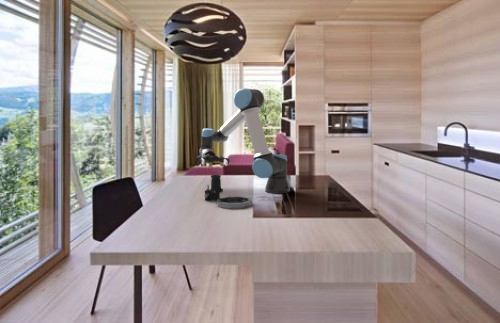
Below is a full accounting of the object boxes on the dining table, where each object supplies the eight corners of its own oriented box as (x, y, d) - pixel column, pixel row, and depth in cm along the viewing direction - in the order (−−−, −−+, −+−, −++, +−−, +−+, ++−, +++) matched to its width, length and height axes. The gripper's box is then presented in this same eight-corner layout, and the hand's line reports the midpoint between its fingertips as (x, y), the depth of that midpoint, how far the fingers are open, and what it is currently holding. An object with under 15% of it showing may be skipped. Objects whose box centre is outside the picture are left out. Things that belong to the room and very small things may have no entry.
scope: (206, 174, 225) (223, 174, 225) (206, 197, 227) (224, 198, 226) (203, 176, 217) (221, 176, 216) (204, 201, 219) (221, 201, 218)
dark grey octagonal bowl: (248, 200, 220) (248, 195, 220) (253, 207, 203) (253, 203, 202) (216, 201, 218) (216, 197, 218) (218, 209, 200) (218, 204, 200)
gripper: (227, 162, 252) (235, 170, 232) (188, 160, 245) (193, 168, 225) (228, 151, 251) (236, 157, 231) (189, 148, 243) (194, 155, 223)
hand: (215, 163), depth 228 cm, fingers open, 13 cm apart
